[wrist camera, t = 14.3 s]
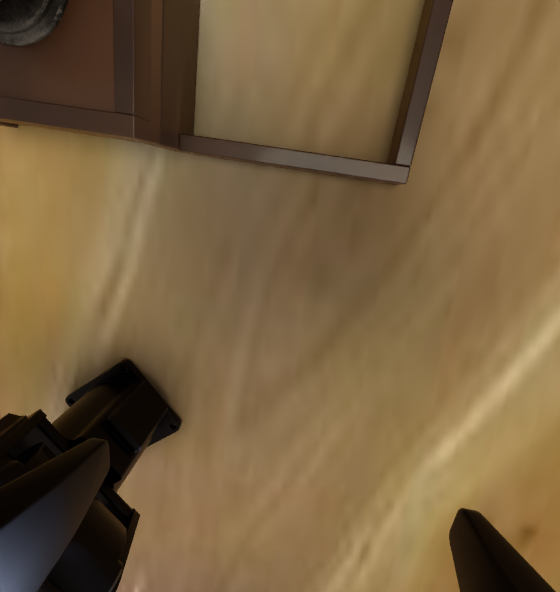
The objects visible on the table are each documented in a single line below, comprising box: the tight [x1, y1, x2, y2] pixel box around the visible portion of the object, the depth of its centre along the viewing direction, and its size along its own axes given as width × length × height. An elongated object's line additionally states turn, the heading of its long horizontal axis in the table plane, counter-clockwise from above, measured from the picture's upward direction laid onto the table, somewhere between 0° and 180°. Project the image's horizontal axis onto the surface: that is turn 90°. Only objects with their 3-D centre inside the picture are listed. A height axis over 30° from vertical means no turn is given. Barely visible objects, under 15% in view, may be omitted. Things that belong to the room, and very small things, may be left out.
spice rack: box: [0, 0, 453, 185], centre depth 14 cm, size 23×11×6 cm, turn 82°
